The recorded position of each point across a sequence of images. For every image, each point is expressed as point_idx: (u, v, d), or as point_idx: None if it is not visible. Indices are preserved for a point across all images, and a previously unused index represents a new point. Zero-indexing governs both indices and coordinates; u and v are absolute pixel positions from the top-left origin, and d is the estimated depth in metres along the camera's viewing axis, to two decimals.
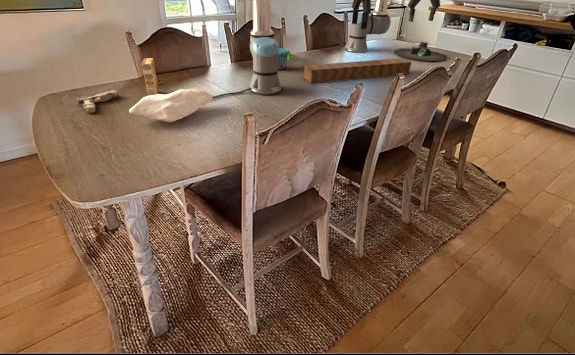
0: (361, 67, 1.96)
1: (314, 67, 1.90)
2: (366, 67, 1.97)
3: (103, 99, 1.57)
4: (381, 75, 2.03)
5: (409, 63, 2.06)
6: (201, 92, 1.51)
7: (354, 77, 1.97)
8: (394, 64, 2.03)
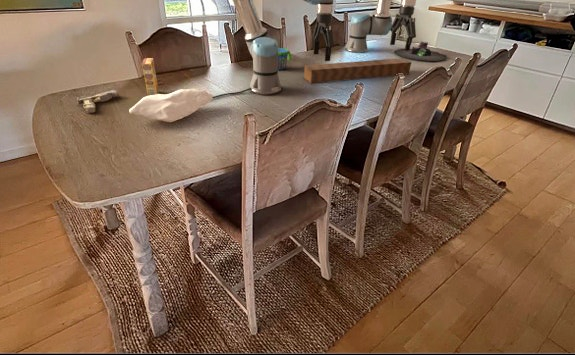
0: (361, 67, 1.96)
1: (314, 67, 1.90)
2: (366, 67, 1.97)
3: (103, 99, 1.57)
4: (381, 75, 2.03)
5: (409, 63, 2.06)
6: (201, 92, 1.51)
7: (354, 77, 1.97)
8: (394, 64, 2.03)
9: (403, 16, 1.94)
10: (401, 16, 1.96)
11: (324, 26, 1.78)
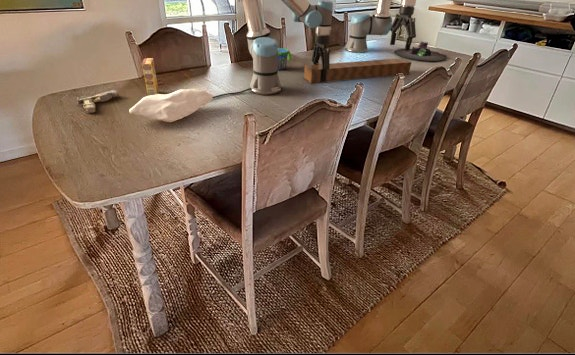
0: (361, 67, 1.96)
1: (314, 67, 1.90)
2: (366, 67, 1.97)
3: (103, 99, 1.57)
4: (381, 75, 2.03)
5: (409, 63, 2.06)
6: (201, 92, 1.51)
7: (354, 77, 1.97)
8: (394, 64, 2.03)
9: (403, 16, 1.94)
10: (401, 16, 1.96)
11: (322, 47, 1.83)
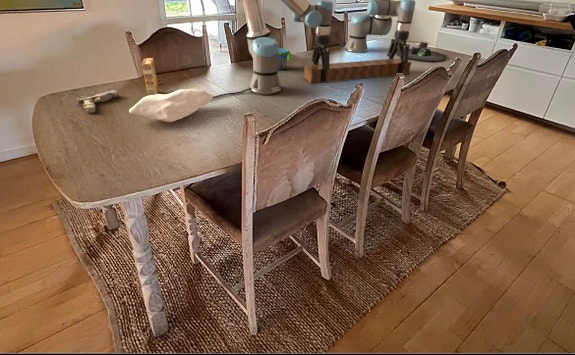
0: (361, 67, 1.96)
1: (314, 67, 1.90)
2: (366, 67, 1.97)
3: (103, 99, 1.57)
4: (381, 75, 2.03)
5: (409, 63, 2.06)
6: (201, 92, 1.51)
7: (354, 77, 1.97)
8: (394, 64, 2.03)
9: (398, 40, 2.01)
10: (396, 40, 2.03)
11: (322, 47, 1.83)
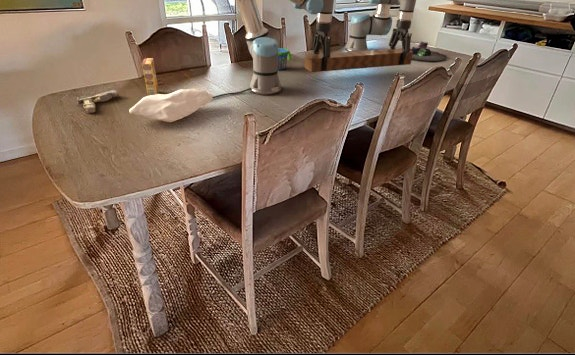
0: (362, 56, 1.93)
1: (314, 56, 1.87)
2: (367, 56, 1.94)
3: (103, 99, 1.57)
4: (382, 65, 2.00)
5: (411, 53, 2.03)
6: (201, 92, 1.51)
7: (355, 67, 1.94)
8: (396, 54, 2.00)
9: (400, 29, 1.98)
10: (398, 29, 2.00)
11: (323, 35, 1.80)
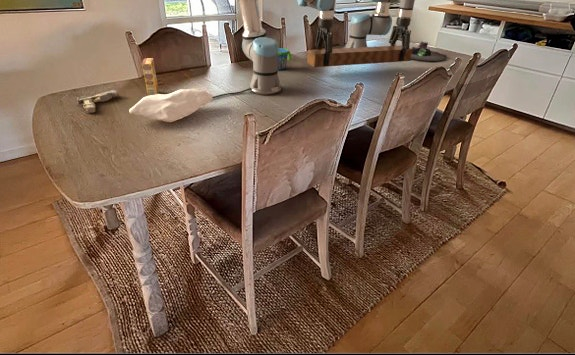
0: (363, 52, 1.99)
1: (317, 52, 1.92)
2: (368, 53, 2.00)
3: (103, 99, 1.57)
4: (383, 61, 2.06)
5: (410, 50, 2.09)
6: (201, 92, 1.51)
7: (356, 62, 2.00)
8: (396, 50, 2.06)
9: (400, 27, 2.04)
10: (398, 27, 2.05)
11: (325, 31, 1.85)
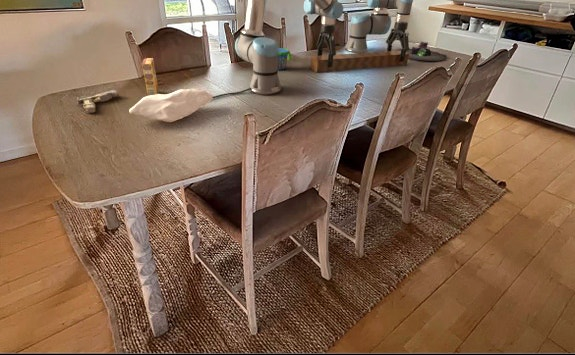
0: (363, 58, 2.12)
1: (319, 58, 2.06)
2: (367, 58, 2.13)
3: (103, 99, 1.57)
4: (381, 66, 2.20)
5: (407, 55, 2.22)
6: (201, 92, 1.51)
7: (356, 67, 2.14)
8: (393, 55, 2.19)
9: (398, 31, 2.17)
10: (396, 30, 2.18)
11: (327, 36, 1.99)
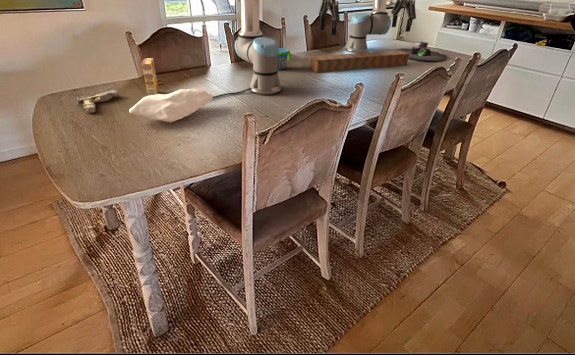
0: (363, 58, 2.12)
1: (319, 58, 2.06)
2: (367, 58, 2.13)
3: (103, 99, 1.57)
4: (381, 66, 2.20)
5: (407, 55, 2.22)
6: (201, 92, 1.51)
7: (356, 67, 2.14)
8: (393, 55, 2.19)
9: None
10: None
11: (330, 1, 1.89)
